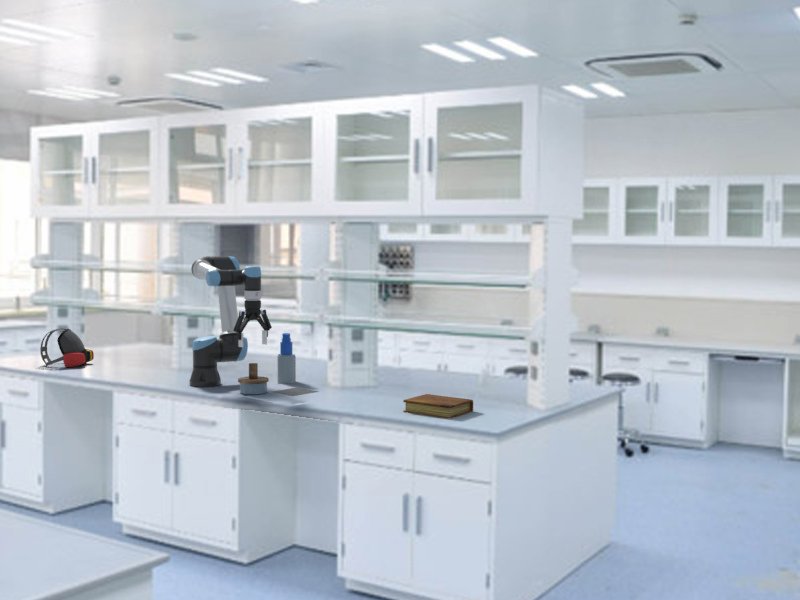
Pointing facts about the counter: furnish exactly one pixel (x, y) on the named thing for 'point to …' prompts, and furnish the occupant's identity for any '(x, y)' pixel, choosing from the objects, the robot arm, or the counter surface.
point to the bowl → (253, 388)
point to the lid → (253, 376)
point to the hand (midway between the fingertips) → (252, 345)
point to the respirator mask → (68, 349)
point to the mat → (295, 391)
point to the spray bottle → (286, 361)
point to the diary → (438, 406)
